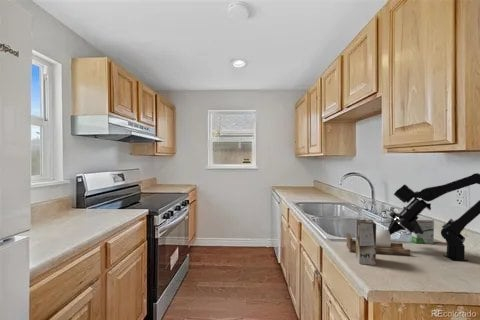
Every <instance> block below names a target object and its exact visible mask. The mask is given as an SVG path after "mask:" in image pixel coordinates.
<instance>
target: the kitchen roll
mask: <svg viewBox="0 0 480 320" xmlns="http://www.w3.org/2000/svg"><path fill="white" fill-rule="evenodd" d="M391 241H392V239H391V235H390V232H389V230H388V229H376V248H390V246H391V243H392V242H391Z"/></svg>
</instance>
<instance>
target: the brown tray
mask: <svg viewBox="0 0 480 320" xmlns="http://www.w3.org/2000/svg"><path fill="white" fill-rule="evenodd" d="M346 247H347V249H348V251H349V253H356V239H355V240H353V238H352V236H351V234H350V232H346ZM376 255H388V256H402V257H403V256H404V257H406V256H407V257H410V256H411V250H410V249H407V248H404V245H403V243H401V242H391V246H390V248H376Z"/></svg>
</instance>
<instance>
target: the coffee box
mask: <svg viewBox="0 0 480 320" xmlns="http://www.w3.org/2000/svg"><path fill="white" fill-rule="evenodd" d="M376 230H377V223H375V222H374V221H373V220H372V219H355V241H356V252H355V259H356V260H357V262H358V264H361V265H369V266H370V265H372V266H373V265H374V266H376V263H377V261H376V258H377V256H376V255H377V254H376Z"/></svg>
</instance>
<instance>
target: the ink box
mask: <svg viewBox="0 0 480 320" xmlns="http://www.w3.org/2000/svg"><path fill="white" fill-rule="evenodd" d="M416 221H417V222H418V224H419V226H420V227H421V229H422V232H420V233H417V234H415V233H413V232H412V233H411V242H412V243H415V244H424V245H426V244H430V245H432V244H433V245H434V239H435V237H434V234H435V233H434V231H435V230H434V229H435V221H434V219H432V218H429V217H418V219H417V220H416Z"/></svg>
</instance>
